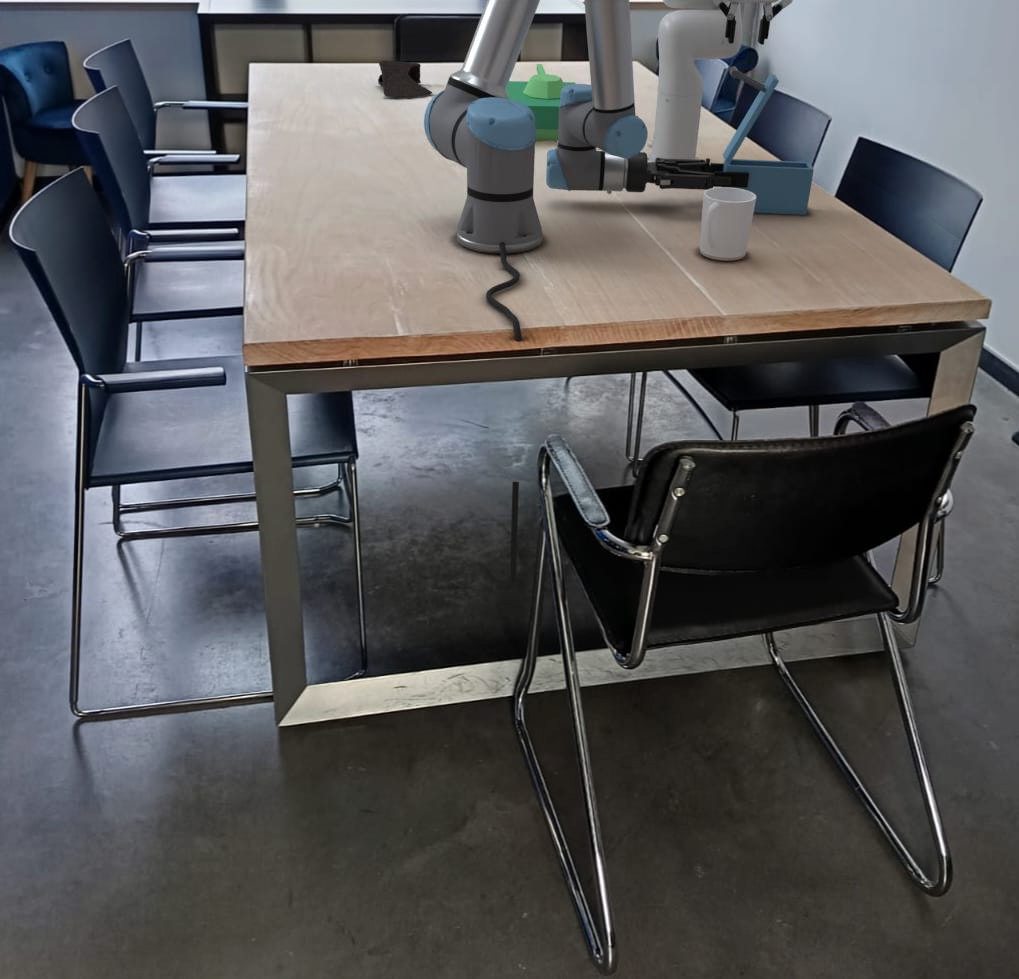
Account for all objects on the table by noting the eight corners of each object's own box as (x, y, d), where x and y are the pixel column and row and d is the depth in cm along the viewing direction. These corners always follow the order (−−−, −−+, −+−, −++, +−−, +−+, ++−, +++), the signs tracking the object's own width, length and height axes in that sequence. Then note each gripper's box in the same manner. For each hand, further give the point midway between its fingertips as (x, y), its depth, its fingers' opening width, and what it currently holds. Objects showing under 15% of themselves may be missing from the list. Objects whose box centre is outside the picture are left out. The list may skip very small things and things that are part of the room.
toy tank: (572, 60, 278) (587, 89, 248) (570, 110, 284) (584, 145, 254) (503, 59, 277) (509, 88, 247) (502, 109, 283) (508, 143, 253)
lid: (775, 75, 204) (737, 54, 203) (779, 81, 200) (739, 59, 198) (727, 156, 213) (690, 136, 211) (729, 163, 208) (691, 143, 207)
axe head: (443, 87, 294) (392, 77, 287) (436, 115, 299) (385, 106, 292) (421, 62, 307) (371, 52, 300) (414, 89, 311) (365, 80, 304)
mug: (713, 241, 197) (720, 184, 192) (757, 252, 193) (765, 194, 187) (681, 256, 190) (687, 197, 185) (726, 268, 185) (733, 208, 180)
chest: (802, 207, 217) (809, 162, 212) (806, 215, 212) (813, 169, 208) (719, 203, 218) (724, 158, 213) (721, 211, 213) (726, 165, 209)
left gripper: (621, 178, 222) (736, 181, 222) (626, 205, 206) (750, 209, 206) (624, 140, 218) (741, 144, 218) (630, 165, 202) (755, 169, 202)
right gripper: (805, -70, 193) (788, 40, 202) (708, -72, 193) (696, 37, 203) (813, -66, 186) (796, 48, 196) (713, -68, 187) (700, 45, 197)
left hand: (745, 175), depth 212 cm, fingers closed on chest, 5 cm apart
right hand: (745, 41), depth 199 cm, fingers open, 4 cm apart
